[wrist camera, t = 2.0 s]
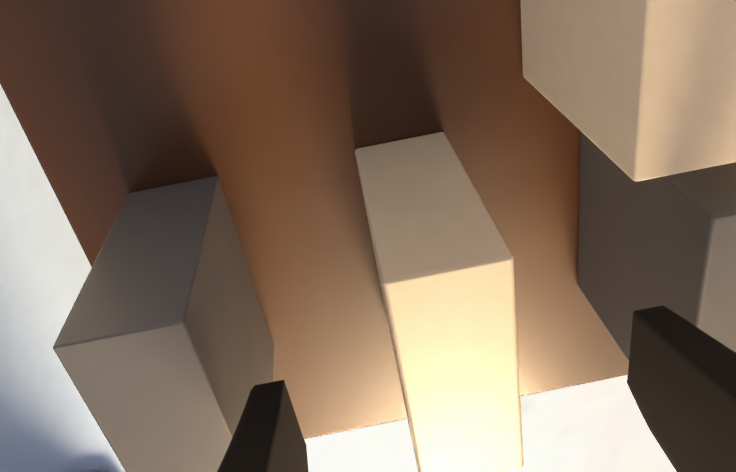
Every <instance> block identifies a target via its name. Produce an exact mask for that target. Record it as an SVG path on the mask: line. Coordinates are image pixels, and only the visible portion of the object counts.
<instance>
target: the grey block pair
mask: <svg viewBox="0 0 736 472" xmlns="http://www.w3.org/2000/svg"><path fill="white" fill-rule="evenodd" d="M577 285H578V286H579V288H580V289H581V291H582V292H583V294H584V295H585V297H586V298H587V300H588V301H589V303H590V304H591V306H592V307H593V309H594V310H595V312H596V313H597V315H598V316H599V318H600V319H601V321H602V322H603V324H604V325H605V327H606V328H607V330H608V331H609V333H610V334H611V336H612V337H613V339H614V340H615V342H616V343H617V345H618V346H619V348H620V349H621V351H622V352H623V354H624V355H625V357H626V358H627V360H628V361H629V356H630V344H631V333H632V321H633V311H636V310H641V309H646V308H652V307H657V306H662V305H663V306H665V307H667V308H668V309H670V310H671V311H673V312H674V313H676V314H678V315H679V316H681V317H682V318H684V319H685V320H687V321H688V322H690V323H691V324H693V325H694V326H696V327H697V328H699V329H700V330H702V331H703V332H705V333H706V334H708V335H709V336H711V337H713V338H714V339H716V340H717V341H719V342H720V343H722V344H723V345H725V346H726V347H728V348H729V349H731V350H733V351H734V352H736V162H734V163H729V164H724V165H719V166H714V167H709V168H704V169H698V170H693V171H688V172H683V173H678V174H673V175H668V176H663V177H658V178H653V179H648V180H643V181H638V182H637V181H633V180H632V179H631V178H630V177H629V176H628V175H627V174H626V173H625V172H624V171H623V170H622V169H620V168H619V167H618V166H617V165H616V164H615V163H614V162H613V161H612V160H611V159H610V158H609V157H608V156H607V155H606V154H605V153H604V152H602V151H601V150H600V149H599V148H598V147H597V146H596V145H595V144H594V143H593V142H592V141H591V140H590V139H589V138H588V137H587V136H586V135H584V134H583V133H582V132H581V137H580V186H579V235H578V283H577ZM53 349H54V351H55V352H56V354H57V356H58V357H59V359H60V361H61V363H62V364H63V366H64V368H65V369H66V371H67V373H68V374H69V376H70V378H71V379H72V381H73V383H74V385H75V386H76V388H77V390H78V391H79V393H80V395H81V396H82V398H83V400H84V401H85V403H86V405H87V407H88V408H89V410H90V412H91V413H92V415H93V417H94V418H95V420H96V422H97V423H98V425H99V427H100V429H101V430H102V432H103V434H104V435H105V437H106V439H107V440H108V442H109V444H110V445H111V447H112V449H113V450H114V452H115V454H116V456H117V457H118V459H119V461H120V462H121V464H122V466H123V467H124V469H125V471H126V472H217V471H218V468H219V466H220V464H221V462H222V460H223V457H224V455H225V453H226V451H227V449H228V447H229V444H230V442H231V440H232V437H233V435H234V432H235V430H236V428H237V425H238V423H239V420H240V418H241V415H242V413H243V410H244V407H245V405H246V402H247V399H248V396H249V393H250V391H251V389H252V388H253V387H254V385H259V384H264V383H269V382H273V362H274V343H273V340H272V337H271V334H270V331H269V328H268V325H267V322H266V319H265V316H264V313H263V309H262V306H261V303H260V300H259V297H258V294H257V291H256V288H255V285H254V282H253V279H252V276H251V273H250V270H249V267H248V264H247V261H246V258H245V255H244V252H243V249H242V246H241V243H240V240H239V237H238V234H237V231H236V228H235V225H234V222H233V219H232V216H231V213H230V210H229V207H228V204H227V201H226V198H225V195H224V192H223V189H222V186H221V183H220V180H219V177H218V176H213V177H208V178H203V179H198V180H193V181H188V182H183V183H178V184H173V185H168V186H162V187H157V188H152V189H147V190H142V191H137V192H132V193H129V194H128V195H127V197H126V199H125V201H124V203H123V205H122V207H121V210H120V212H119V214H118V216H117V218H116V220H115V222H114V224H113V226H112V228H111V230H110V232H109V234H108V236H107V238H106V240H105V242H104V244H103V246H102V248H101V250H100V252H99V254H98V256H97V258H96V260H95V262H94V264H93V267H92V269H91V271H90V273H89V275H88V277H87V279H86V281H85V283H84V285H83V287H82V289H81V291H80V293H79V295H78V297H77V299H76V301H75V303H74V305H73V307H72V309H71V311H70V313H69V315H68V317H67V319H66V321H65V324H64V326H63V328H62V330H61V332H60V334H59V336H58V338H57V340H56V342H55V344H54V346H53Z"/></svg>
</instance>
